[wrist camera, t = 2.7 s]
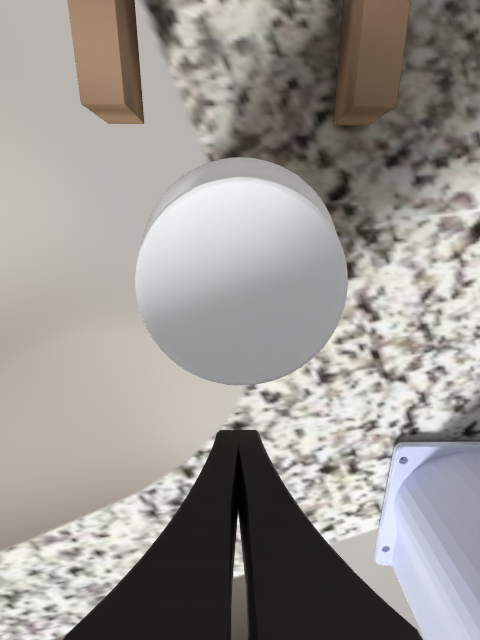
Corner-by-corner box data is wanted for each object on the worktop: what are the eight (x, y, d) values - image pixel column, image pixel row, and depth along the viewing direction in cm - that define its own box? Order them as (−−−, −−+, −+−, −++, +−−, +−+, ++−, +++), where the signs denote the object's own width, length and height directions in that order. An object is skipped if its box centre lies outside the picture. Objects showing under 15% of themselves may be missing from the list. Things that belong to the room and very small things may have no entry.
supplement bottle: (318, 253, 15) (444, 312, 6) (230, 321, 16) (224, 460, 7) (247, 156, 14) (270, 39, 5) (157, 236, 15) (29, 270, 6)
